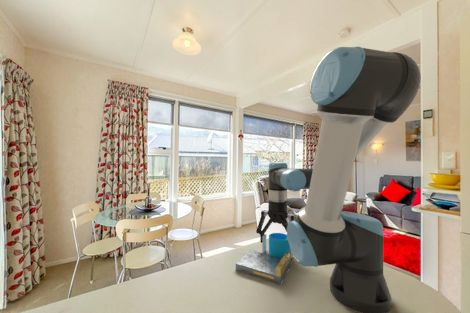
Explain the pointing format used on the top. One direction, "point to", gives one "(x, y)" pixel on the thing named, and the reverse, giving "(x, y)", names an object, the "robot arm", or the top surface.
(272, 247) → the mug
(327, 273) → the top surface
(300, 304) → the top surface
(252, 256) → the ledge
